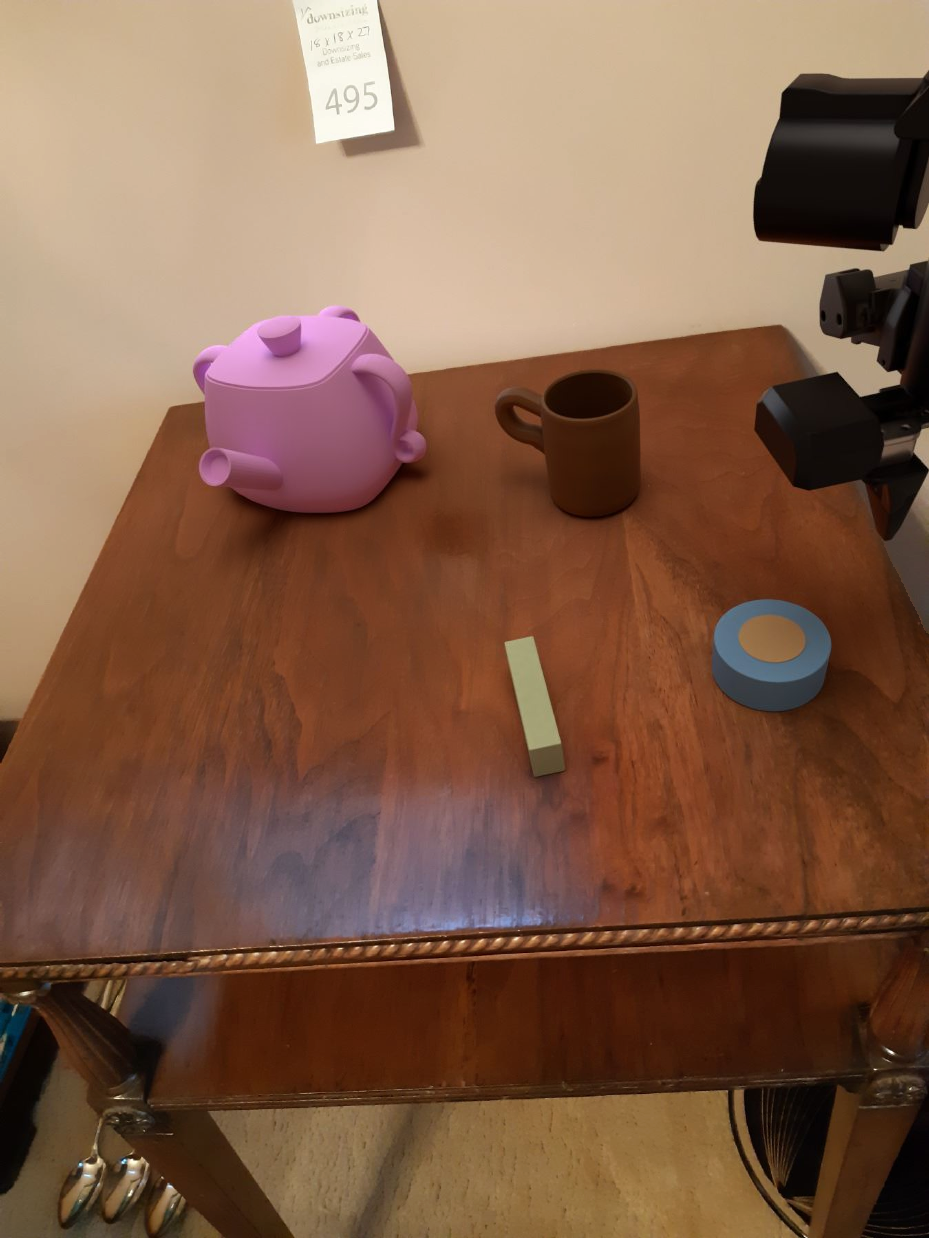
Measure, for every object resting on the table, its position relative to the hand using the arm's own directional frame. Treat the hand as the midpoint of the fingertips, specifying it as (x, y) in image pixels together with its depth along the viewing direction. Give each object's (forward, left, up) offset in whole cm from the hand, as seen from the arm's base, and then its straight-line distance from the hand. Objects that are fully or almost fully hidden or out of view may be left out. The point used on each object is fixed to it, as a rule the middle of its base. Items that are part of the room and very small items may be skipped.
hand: (921, 527), depth 48 cm
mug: (+16, -23, -10) cm, 30 cm away
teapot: (+38, -33, -10) cm, 51 cm away
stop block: (+23, 0, -10) cm, 26 cm away
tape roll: (+8, 0, -10) cm, 13 cm away
